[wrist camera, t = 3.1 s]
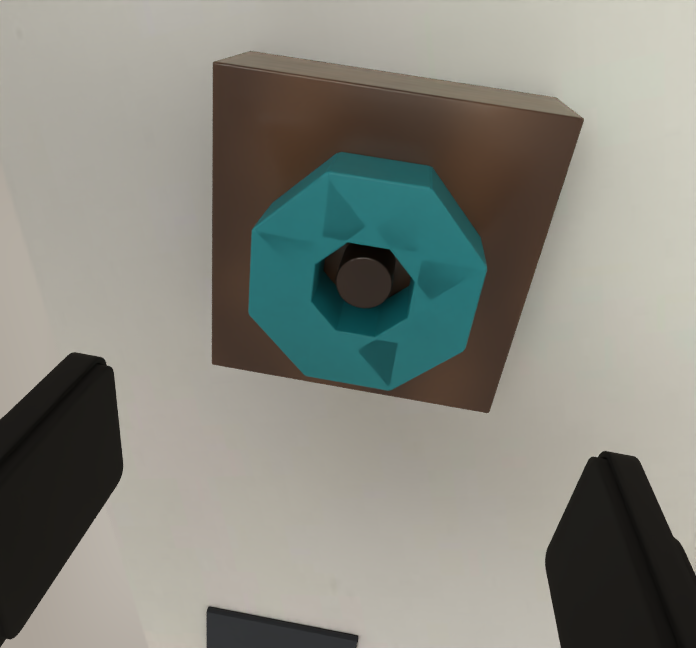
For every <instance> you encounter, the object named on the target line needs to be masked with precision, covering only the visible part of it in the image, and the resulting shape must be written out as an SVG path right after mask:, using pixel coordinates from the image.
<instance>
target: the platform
mask: <svg viewBox="0 0 696 648" xmlns="http://www.w3.org/2000/svg"><path fill="white" fill-rule="evenodd" d="M583 122H584V118H582V117H581V116H580V115H578V114H577V113H576V112H574V111H573V110H572V109H571V108H569V107H568V106H567V105H565V104H564V103H563V102H561V101H560V100H559V99H558V98H555V97H549V96H542V95H536V94H529V93H523V92H516V91H509V90H503V89H496V88H490V87H483V86H477V85H470V84H463V83H457V82H450V81H444V80H437V79H431V78H424V77H418V76H411V75H404V74H398V73H391V72H385V71H378V70H372V69H365V68H358V67H352V66H345V65H339V64H332V63H326V62H319V61H312V60H306V59H299V58H293V57H286V56H280V55H273V54H266V53H260V52H253V51H249V52H246V53H242V54H239V55H235V56H232V57H228V58H225V59H221V60H218V61H215V62H213V184H212V364H213V365H219V366H224V367H230V368H236V369H241V370H247V371H253V372H258V373H264V374H270V375H275V376H281V377H286V378H292V379H298V380H303V381H309V382H315V383H320V384H326V385H332V386H337V387H343V388H349V389H354V390H360V391H366V392H371V393H377V394H382V395H388V396H394V397H399V398H405V399H411V400H416V401H422V402H428V403H433V404H439V405H445V406H450V407H456V408H462V409H467V410H473V411H478V412H484V413H489V411H490V408H491V405H492V402H493V399H494V396H495V393H496V390H497V387H498V384H499V380H500V377H501V374H502V371H503V368H504V365H505V362H506V359H507V356H508V353H509V350H510V347H511V343H512V340H513V337H514V334H515V331H516V328H517V325H518V322H519V319H520V316H521V313H522V310H523V306H524V303H525V300H526V297H527V294H528V291H529V288H530V285H531V282H532V279H533V276H534V273H535V269H536V266H537V263H538V260H539V257H540V254H541V251H542V248H543V245H544V242H545V239H546V236H547V233H548V229H549V226H550V223H551V220H552V217H553V214H554V211H555V208H556V205H557V202H558V199H559V196H560V192H561V189H562V186H563V183H564V180H565V177H566V174H567V171H568V168H569V165H570V162H571V159H572V155H573V152H574V149H575V146H576V143H577V140H578V137H579V134H580V131H581V128H582V125H583ZM339 152H346V153H352V154H358V155H364V156H371V157H377V158H383V159H390V160H396V161H402V162H409V163H415V164H421V165H427V166H430V167H433V169H434V170H435V172H436V173H437V175H438V176H439V177H440V179H441V180H442V182H443V183H444V185H445V186H446V188H447V189H448V191H449V192H450V193H451V195H452V196H453V198H454V199H455V201H456V202H457V204H458V205H459V207H460V208H461V209H462V211H463V212H464V214H465V215H466V217H467V218H468V220H469V221H470V223H471V224H472V225H473V227H474V228H475V230H476V231H477V233H478V234H479V236H480V237H481V241H482V245H483V250H484V255H485V259H486V264H487V273H486V276H485V280H484V283H483V287H482V291H481V294H480V298H479V302H478V305H477V309H476V312H475V316H474V320H473V323H472V327H471V330H470V334H469V338H468V341H467V345H466V348H465V350H464V351H463V352H461V353H460V354H458V355H456V356H454V357H452V358H450V359H448V360H447V361H445V362H443V363H441V364H439V365H437V366H435V367H434V368H432V369H430V370H428V371H426V372H424V373H422V374H420V375H419V376H417V377H415V378H413V379H411V380H409V381H407V382H406V383H404V384H402V385H400V386H398V387H396V388H394V389H393V390H390V391H387V390H381V389H376V388H370V387H364V386H359V385H353V384H347V383H342V382H336V381H331V380H325V379H319V378H314V377H308V376H305V375H304V374H303V373H302V372H301V371H300V370H299V369H298V368H297V367H296V365H295V364H294V363H293V362H292V361H291V360H290V359H289V358H288V357H287V356H286V355H285V353H284V352H283V351H282V350H281V349H280V348H279V347H278V346H277V345H276V344H275V342H274V341H273V340H272V339H271V338H270V337H269V336H268V335H267V334H266V333H265V332H264V330H263V329H262V328H261V327H260V326H259V325H258V324H257V323H256V322H255V321H254V319H253V318H252V317H251V316H250V315H249V312H248V307H249V282H250V258H251V233H252V229H253V227H254V226H255V225H256V223H257V222H258V221H259V219H260V218H261V217H262V215H263V214H264V213H265V212H266V210H267V209H268V208H269V206H270V205H271V204H272V203H273V202H274V201H275V200H277V199H278V198H279V197H280V196H282V195H283V194H284V193H286V192H287V191H288V190H290V189H291V188H292V187H293V186H295V185H296V184H297V183H299V182H300V181H301V180H302V179H304V178H305V177H306V176H308V175H309V174H310V173H311V172H313V171H314V170H315V169H317V168H318V167H319V166H321V165H322V164H323V163H324V162H326V161H327V160H328V159H330V158H331V157H332V156H333V155H335V154H336V153H339ZM324 272H325V273H326V274H327V276H328V277H329V278H330V279H331V280H332V282H333V283H334V284H335V285H336V288H337V291H338V293H339V295H340V296H341V297H342V298H343V300H344V301H346V302H347V303H348V304H350V305H352V306H354V307H358V308H373V307H376V306H378V305H380V304H382V303H383V302H384V301H385V300H387V299H388V298H390V297H391V296H393V295H395V294H396V293H398V292H400V291H401V290H403V289H404V288H406V287H408V286H409V284H410V279H411V277H410V275H409V274H408V273H407V271H406V270H405V269H404V267H403V266H402V265H401V263H400V262H399V261H398V259H397V258H396V257H395V256H394V254H393V253H392V252H391V250H390V249H385V248H379V247H373V246H367V245H360V244H354V243H346V244H345V245H344V246H342V247H341V248H339V249H338V250H336V251H335V252H333V253H332V254H330V255H329V256H328V257H326V258H325V262H324Z"/></svg>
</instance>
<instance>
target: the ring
mask: <svg viewBox="0 0 696 648" xmlns="http://www.w3.org/2000/svg"><path fill="white" fill-rule="evenodd" d="M346 243H354V244H360V245H367V246H373V247H379V248H385V249H390V250H391V252H392V253H393V254H394V256H395V257H396V258H397V259H398V261H399V262H400V263H401V265H402V266H403V267H404V269H405V270H406V271H407V273H408V274H409V275H410V277H411V279H410V284H409V286H408V287H406V288H404V289H403V290H401V291H400V292H398V293H396V294H395V295H393V296H391V297H390V298H388V299H387V300H385V301H384V302H383V303H382V304H380V305H378V306H376V307H373V308H358V307H354V306H352V305H350V304H348V303H347V302H346V301H344V300H343V298H342V297H341V296H340V295H339V293H338V291H337V288H336V285H335V284H334V283H333V282H332V280H331V279H330V278H329V277H328V276H327V274H326V273H325V272H324V262H325V258H326V257H328V256H329V255H330V254H332V253H333V252H335V251H336V250H338V249H339V248H341V247H342V246H344V245H345V244H346ZM486 273H487V264H486V259H485V255H484V250H483V245H482V241H481V237H480V236H479V234H478V233H477V231H476V230H475V228H474V227H473V225H472V224H471V223H470V221H469V220H468V218H467V217H466V215H465V214H464V212H463V211H462V209H461V208H460V207H459V205H458V204H457V202H456V201H455V199H454V198H453V196H452V195H451V193H450V192H449V191H448V189H447V188H446V186H445V185H444V183H443V182H442V180H441V179H440V177H439V176H438V175H437V173H436V172H435V170H434V169H433V167H430V166H427V165H421V164H415V163H409V162H402V161H396V160H390V159H383V158H377V157H371V156H364V155H358V154H352V153H346V152H339V153H336V154H335V155H333V156H332V157H331V158H330V159H328V160H327V161H326V162H324V163H323V164H322V165H321V166H319V167H318V168H317V169H315V170H314V171H313V172H311V173H310V174H309V175H308V176H306V177H305V178H304V179H302V180H301V181H300V182H299V183H297V184H296V185H295V186H293V187H292V188H291V189H290V190H288V191H287V192H286V193H284V194H283V195H282V196H280V197H279V198H278V199H277V200H275V201H274V202H273V203H272V204H271V205H270V206H269V208H268V209H267V210H266V212H265V213H264V214H263V215H262V217H261V218H260V219H259V221H258V222H257V223H256V225H255V226H254V227H253V229H252V233H251V258H250V282H249V307H248V312H249V315H250V316H251V317H252V318H253V319H254V321H255V322H256V323H257V324H258V325H259V326H260V327H261V328H262V329H263V330H264V332H265V333H266V334H267V335H268V336H269V337H270V338H271V339H272V340H273V341H274V342H275V344H276V345H277V346H278V347H279V348H280V349H281V350H282V351H283V352H284V353H285V355H286V356H287V357H288V358H289V359H290V360H291V361H292V362H293V363H294V364H295V365H296V367H297V368H298V369H299V370H300V371H301V372H302V373H303V374H304V375H305V376H308V377H314V378H319V379H325V380H331V381H336V382H342V383H347V384H353V385H359V386H364V387H370V388H376V389H381V390H387V391H390V390H393V389H394V388H396V387H398V386H400V385H402V384H404V383H406V382H407V381H409V380H411V379H413V378H415V377H417V376H419V375H420V374H422V373H424V372H426V371H428V370H430V369H432V368H434V367H435V366H437V365H439V364H441V363H443V362H445V361H447V360H448V359H450V358H452V357H454V356H456V355H458V354H460V353H461V352H463V351H464V350H465V348H466V345H467V341H468V338H469V334H470V330H471V327H472V323H473V320H474V316H475V312H476V309H477V305H478V302H479V298H480V294H481V291H482V287H483V283H484V280H485V276H486Z"/></svg>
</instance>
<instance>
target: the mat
mask: <svg viewBox="0 0 696 648" xmlns="http://www.w3.org/2000/svg"><path fill="white" fill-rule="evenodd" d="M357 642H358V636H355V635H350V634H345V633H339V632H334V631H329V630H324V629H319V628H314V627H309V626H304V625H299V624H294V623H288V622H283V621H278V620H273V619H268V618H263V617H258V616H253V615H248V614H243V613H237V612H232V611H227V610H222V609H217V608H212V607H208V609H207V648H356V646H357Z"/></svg>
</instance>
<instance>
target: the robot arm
mask: <svg viewBox="0 0 696 648" xmlns="http://www.w3.org/2000/svg"><path fill="white" fill-rule="evenodd" d="M122 472H123V457H122V448H121V438H120V428H119V418H118V409H117V399H116V389H115V380H114V372H113V369H112V367H110V366H107V365H106V361H105V360H104V358H102V357H97V356H92V355H86V354H81V353H76V352H74V353H71V354H69V355H68V356H67V357H66V358H65V359H64V360H62V361H61V362H60V363H59V364H58V365H57V366H56V367H55V368H54V369H53V370H52V371H51V372H50V373H49V374H48V375H47V376H46V377H45V378H44V379H43V380H42V381H41V382H39V384H37V385H36V386H35V387H34V388H33V389H32V390H31V391H30V392H29V393H28V394H27V395H26V396H25V397H24V398H23V399H22V400H21V401H20V402H19V403H18V404H16V405H15V406H14V407H13V408H12V409H11V410H10V411H9V412H8V413H7V414H6V415H5V416H4V417H2V418H1V419H0V647H1V645H2V644H3V643H4V641H5V640H6V639H12V638H14V637H15V636H16V635H18V633H19V632H20V631H21V630H22V628H23V627H24V625H25V624H26V622H27V620H28V619H29V617H30V616H31V614H32V613H33V611H34V610H35V608H36V607H37V605H38V604H39V602H40V601H41V599H42V598H43V596H44V595H45V593H46V592H47V590H48V589H49V587H50V586H51V584H52V583H53V581H54V580H55V578H56V577H57V575H58V574H59V572H60V571H61V569H62V567H63V566H64V565H65V563H66V562H67V560H68V559H69V557H70V555H71V554H72V552H73V551H74V549H75V548H76V546H77V545H78V543H79V542H80V540H81V539H82V537H83V536H84V534H85V533H86V531H87V530H88V528H89V527H90V525H91V524H92V522H93V521H94V519H95V518H96V516H97V515H98V513H99V512H100V510H101V509H102V507H103V506H104V504H105V503H106V501H107V500H108V498H109V497H110V495H111V494H112V492H113V491H114V489H115V488H116V486H117V484H118V483H119V481H120V478H121V476H122ZM545 566H546V573H547V578H548V583H549V588H550V593H551V599H552V604H553V609H554V614H555V619H556V624H557V630H558V635H559V640H560V645H561V648H696V575H695V573H694V571H693V568H692V566H691V564H690V562H689V560H688V557H687V555H686V553H685V551H684V549H683V547H682V546H681V544H680V542H679V541H678V540H677V539H675V538H674V537H673V535H672V533H671V530H670V528H669V526H668V524H667V521H666V519H665V517H664V515H663V512H662V510H661V508H660V506H659V503H658V501H657V499H656V497H655V494H654V492H653V490H652V488H651V485H650V483H649V481H648V479H647V476H646V474H645V472H644V470H643V467H642V465H641V463H640V461H639V460H638V458H636V457H634V456H629V455H624V454H618V453H613V452H608V451H603V452H602V453H600V455H599V456H598V458H597V457H591V458H590V459H589V460H588V462H587V464H586V466H585V468H584V470H583V472H582V475H581V477H580V479H579V481H578V483H577V485H576V488H575V490H574V492H573V494H572V496H571V498H570V501H569V503H568V505H567V507H566V509H565V511H564V514H563V516H562V518H561V520H560V522H559V524H558V527H557V529H556V531H555V533H554V535H553V537H552V540H551V542H550V544H549V546H548V548H547V552H546V558H545Z"/></svg>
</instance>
